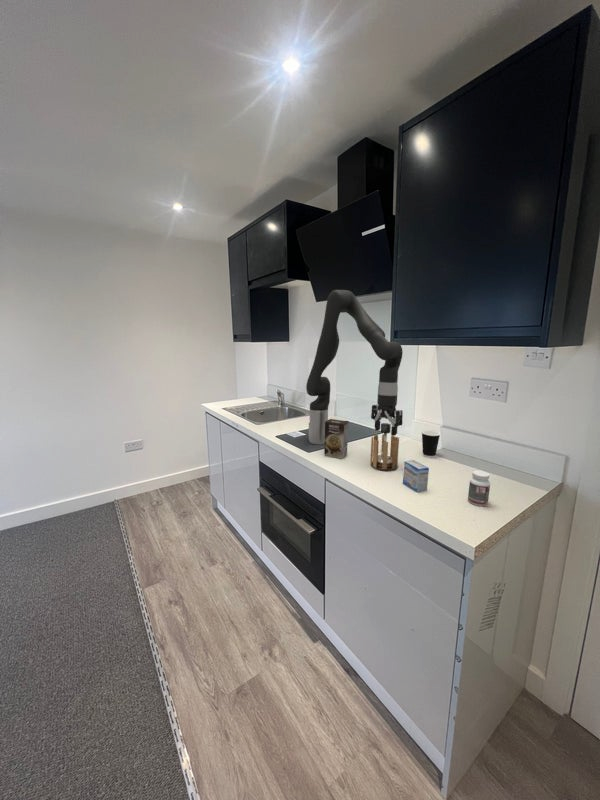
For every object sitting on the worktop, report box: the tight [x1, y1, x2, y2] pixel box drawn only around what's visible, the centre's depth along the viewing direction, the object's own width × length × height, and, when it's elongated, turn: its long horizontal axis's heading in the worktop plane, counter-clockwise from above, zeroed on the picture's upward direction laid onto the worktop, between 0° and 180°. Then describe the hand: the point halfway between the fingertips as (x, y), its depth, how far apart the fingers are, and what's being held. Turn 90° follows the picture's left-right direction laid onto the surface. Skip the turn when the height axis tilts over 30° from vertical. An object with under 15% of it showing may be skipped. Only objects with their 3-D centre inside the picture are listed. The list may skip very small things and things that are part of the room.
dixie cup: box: [421, 429, 442, 459], centre depth 141 cm, size 8×8×11 cm
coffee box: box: [323, 418, 349, 460], centre depth 141 cm, size 9×6×16 cm
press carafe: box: [369, 433, 400, 472], centre depth 130 cm, size 11×13×12 cm
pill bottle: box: [467, 470, 491, 507], centre depth 101 cm, size 6×6×10 cm
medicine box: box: [402, 459, 430, 493], centre depth 112 cm, size 8×4×9 cm, turn 21°
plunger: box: [378, 422, 392, 464], centre depth 129 cm, size 8×8×15 cm
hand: (385, 432), depth 128 cm, fingers open, 8 cm apart
